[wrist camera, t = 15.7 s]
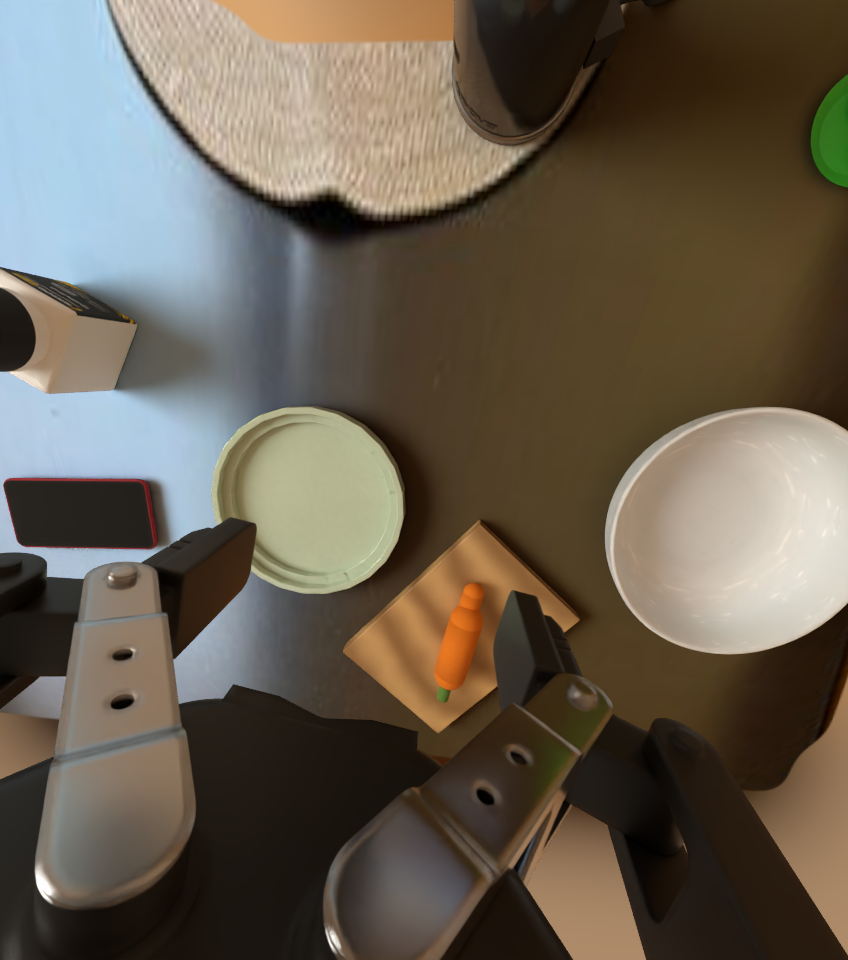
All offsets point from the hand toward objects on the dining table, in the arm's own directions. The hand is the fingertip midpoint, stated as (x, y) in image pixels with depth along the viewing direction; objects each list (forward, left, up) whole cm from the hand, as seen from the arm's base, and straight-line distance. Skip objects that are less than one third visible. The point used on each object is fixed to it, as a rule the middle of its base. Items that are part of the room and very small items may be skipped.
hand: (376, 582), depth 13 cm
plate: (+12, -4, -28) cm, 31 cm away
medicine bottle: (+15, -29, -28) cm, 43 cm away
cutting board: (+12, +16, -28) cm, 35 cm away
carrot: (+12, +16, -27) cm, 33 cm away
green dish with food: (-40, +7, -28) cm, 49 cm away
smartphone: (+30, -20, -28) cm, 46 cm away
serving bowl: (-13, +23, -28) cm, 39 cm away
